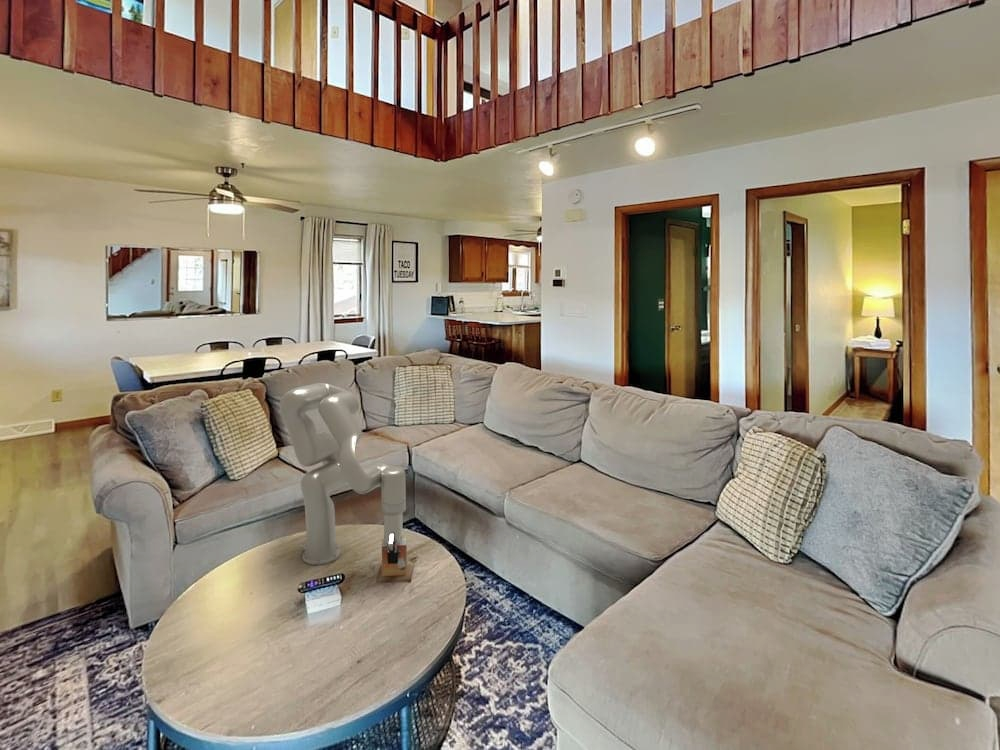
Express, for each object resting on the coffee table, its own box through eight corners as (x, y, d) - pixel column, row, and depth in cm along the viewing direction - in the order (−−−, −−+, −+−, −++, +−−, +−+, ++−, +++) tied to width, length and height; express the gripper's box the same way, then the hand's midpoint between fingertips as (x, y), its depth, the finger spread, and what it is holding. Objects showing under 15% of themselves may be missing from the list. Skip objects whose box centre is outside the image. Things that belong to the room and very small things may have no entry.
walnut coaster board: (375, 582, 168) (375, 579, 168) (380, 567, 177) (380, 565, 177) (410, 582, 169) (410, 579, 168) (413, 567, 177) (413, 564, 177)
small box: (381, 577, 169) (380, 546, 167) (382, 568, 175) (381, 538, 173) (407, 575, 171) (406, 544, 169) (407, 566, 176) (406, 536, 174)
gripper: (386, 495, 177) (387, 542, 180) (377, 517, 160) (378, 569, 163) (408, 495, 177) (409, 542, 180) (402, 517, 160) (403, 569, 163)
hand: (394, 555), depth 171 cm, fingers open, 9 cm apart
